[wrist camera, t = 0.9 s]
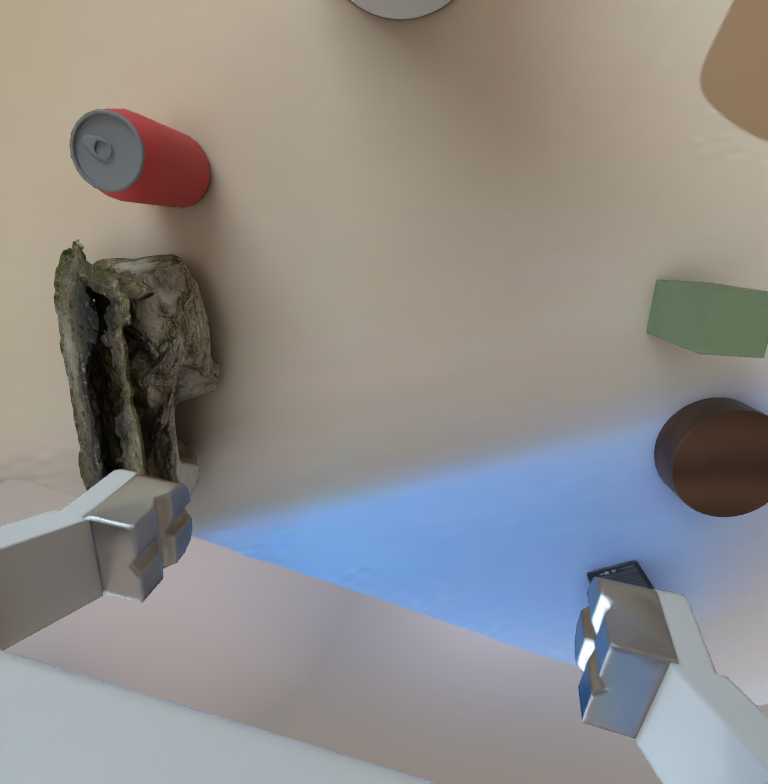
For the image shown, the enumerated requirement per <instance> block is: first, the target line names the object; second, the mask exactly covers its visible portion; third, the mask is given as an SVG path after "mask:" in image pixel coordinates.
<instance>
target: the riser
mask: <svg viewBox="0 0 768 784" xmlns="http://www.w3.org/2000/svg"><path fill="white" fill-rule="evenodd" d="M654 459H655V465H656V468H657V471H658V473H659V475H660V477H661V478H662V480H663V481H664V482H665V483H666V484H667V485H668V486H669V487H670V488H671V489H672V490H673V491H674V492H675V493H676V494H677V495H678V496H679V497H680V498H681V499H682V500H683V501H684V502H685V503H686V504H687V505H688V506H689V507H691V508H692V509H694V510H696V511H698V512H700V513H703V514H706V515H710V516H716V517H732V516H738V515H743V514H746V513H749V512H752V511H754V510H756V509H758V508H760V507H762V506H763V505H765V504H766V503H768V416H767V415H765V414H763V413H761V412H760V411H758V410H756V409H754V408H752V407H750V406H748V405H746V404H744V403H741V402H739V401H736V400H732V399H727V398H711V399H705V400H701V401H698V402H695V403H692V404H690V405H688V406H686V407H684V408H683V409H681V410H680V411H678V412H677V413H676V414H674V415H673V416H672V417H671V418H670V419H669V420H668V421H667V423H666V424H665V425H664V427H663V428H662V430H661V432H660V433H659V436H658V438H657V441H656V445H655V451H654Z"/></svg>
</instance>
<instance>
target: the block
mask: <svg viewBox="0 0 768 784" xmlns="http://www.w3.org/2000/svg"><path fill="white" fill-rule="evenodd" d="M647 333H649V334H652V335H654V336H657V337H659V338H661V339H664V340H666V341H669V342H671V343H673V344H676V345H678V346H681V347H683V348H686V349H688V350H690V351H693V352H695V353H698V354H707V355H723V356H739V357H755V358H764V355H765V351H766V347H767V344H768V291H761V290H755V289H748V288H741V287H735V286H728V285H722V284H715V283H704V282H686V281H668V280H657V281H656V286H655V291H654V297H653V302H652V307H651V312H650V317H649V323H648V328H647Z"/></svg>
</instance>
